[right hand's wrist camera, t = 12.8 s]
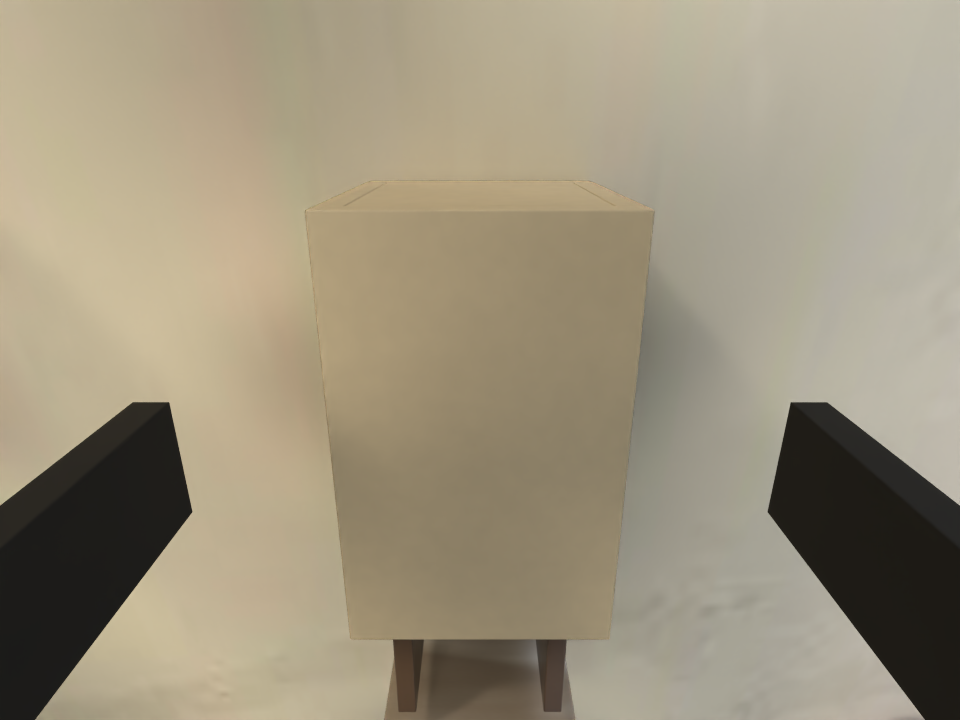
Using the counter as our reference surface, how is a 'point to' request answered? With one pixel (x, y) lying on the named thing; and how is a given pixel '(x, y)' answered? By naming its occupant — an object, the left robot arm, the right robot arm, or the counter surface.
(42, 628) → the right robot arm
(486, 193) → the cabinet
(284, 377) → the counter surface
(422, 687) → the drawer
